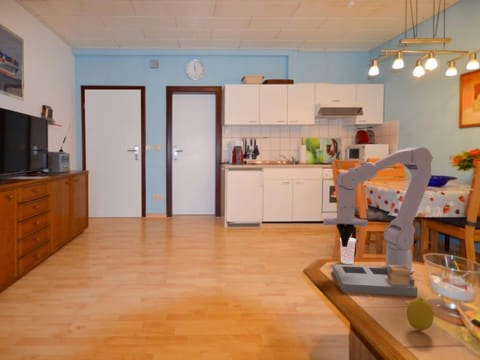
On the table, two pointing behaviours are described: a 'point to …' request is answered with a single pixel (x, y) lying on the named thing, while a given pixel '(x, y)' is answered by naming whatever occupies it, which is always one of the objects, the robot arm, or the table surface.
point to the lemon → (420, 314)
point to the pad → (397, 283)
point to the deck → (370, 281)
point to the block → (398, 274)
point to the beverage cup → (348, 251)
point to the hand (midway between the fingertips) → (344, 246)
